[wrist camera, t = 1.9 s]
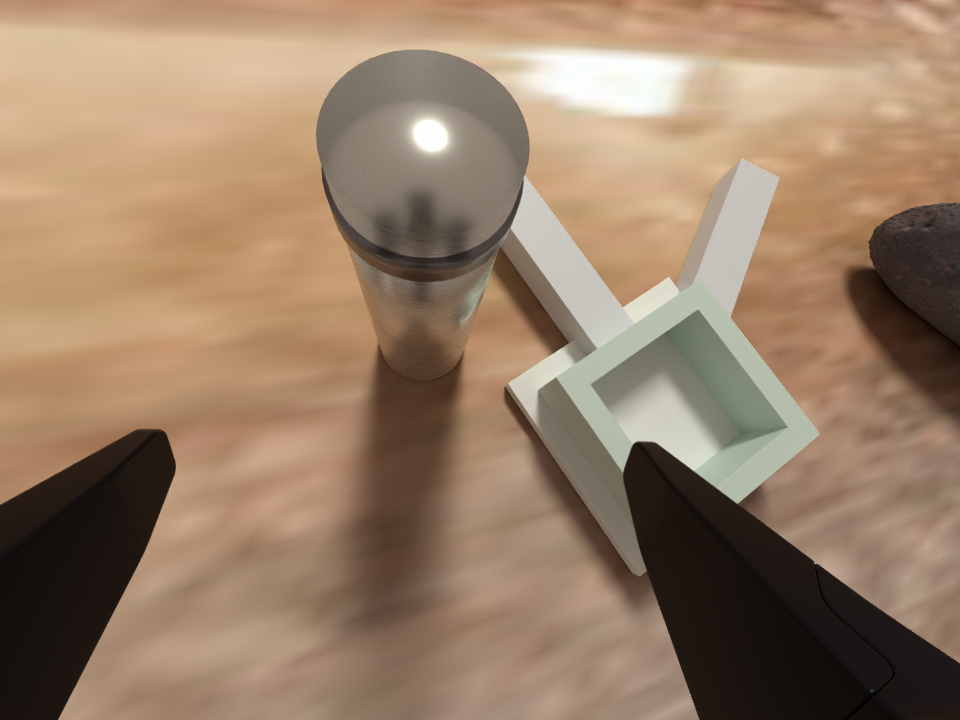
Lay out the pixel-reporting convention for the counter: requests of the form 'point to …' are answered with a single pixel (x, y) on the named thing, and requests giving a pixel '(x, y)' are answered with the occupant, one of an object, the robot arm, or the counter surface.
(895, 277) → the perforated stone tool
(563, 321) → the shaft rig
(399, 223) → the shiny grey metal cylinder
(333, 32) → the counter surface
